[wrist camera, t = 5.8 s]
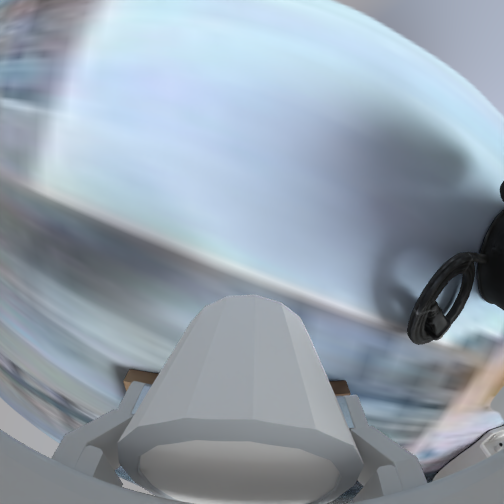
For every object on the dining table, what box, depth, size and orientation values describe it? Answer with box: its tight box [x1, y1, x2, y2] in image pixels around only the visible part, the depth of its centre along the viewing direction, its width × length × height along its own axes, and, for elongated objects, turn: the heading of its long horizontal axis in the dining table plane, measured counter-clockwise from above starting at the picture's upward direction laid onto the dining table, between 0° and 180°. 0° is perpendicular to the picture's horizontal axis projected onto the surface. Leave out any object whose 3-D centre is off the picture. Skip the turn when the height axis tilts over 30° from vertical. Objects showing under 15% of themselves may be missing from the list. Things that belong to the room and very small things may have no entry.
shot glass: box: [118, 295, 364, 504], centre depth 9 cm, size 7×7×7 cm
